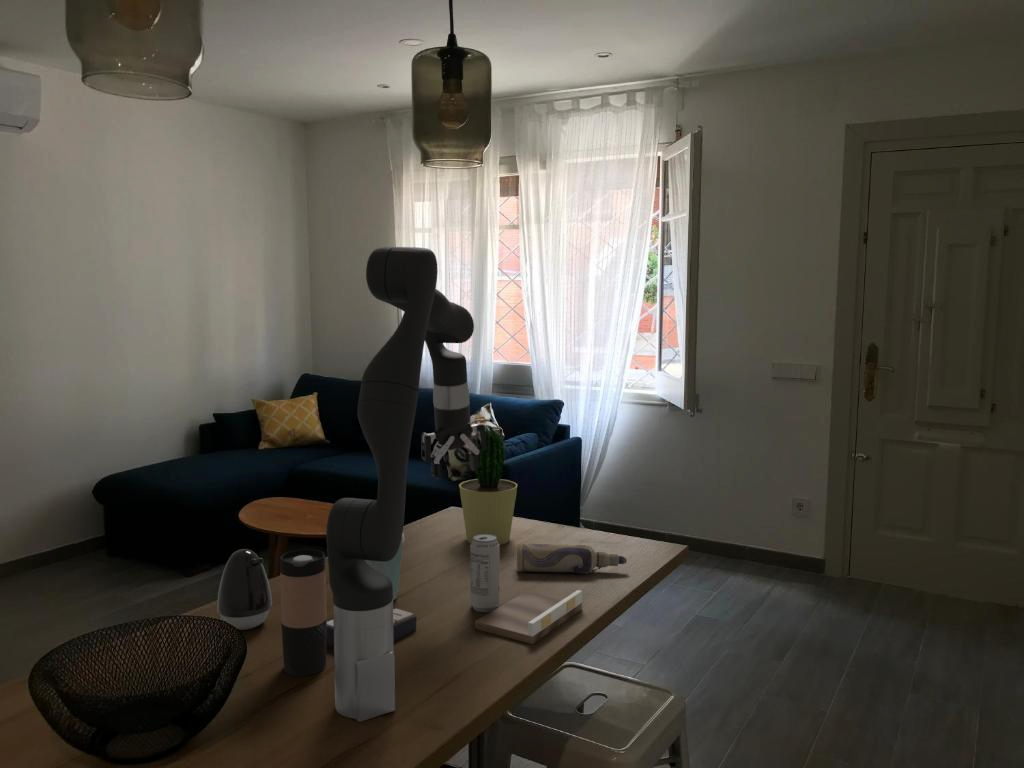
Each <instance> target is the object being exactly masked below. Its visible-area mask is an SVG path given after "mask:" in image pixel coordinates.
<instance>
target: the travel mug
mask: <svg viewBox="0 0 1024 768" xmlns="http://www.w3.org/2000/svg"><path fill="white" fill-rule="evenodd" d="M279 560H280V561H279V562H280V564H279V565H280V566H279V567H280V618H281V619H280V622H281V623H280V625H281V639H282V641H281V642H282V654H283V655H282V657H283V669H284V672H285V673H286V674H288V675H291V676H292V677H293V676H294V677H305V676H306V677H308V676H312V675H316V674H318V673H320V672H322V671H323V670H324V669H326V665H327V645H326V636H327V622H328V619H327V616H328V615H327V586H326V585H327V583H326V582H327V581H326V556H325V553H324V552H323V551H320V550H319V549H312V548H311V549H309V548H304V549H296V550H290V551H288V552H285V553H283V554H282V555H281V556H280V558H279Z"/></svg>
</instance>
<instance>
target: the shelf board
mask: <svg viewBox="0 0 1024 768" xmlns="http://www.w3.org/2000/svg"><path fill="white" fill-rule="evenodd" d="M565 598H566V597H565ZM565 598H564V597H560V596H557V595H556V596H555V595H552V594H551V595H550V594H546V593H542V592H538V591H533V590H530V589H528V590H526V591H524V592H523V593H520V594H519V595H517V596H516V597H514V598H513V599H511V600H509V601H507V602H505V603H504V604H502V605H501V606H499V607H497V608H496V609H495V610H494V611H490V612H488V613H487V614H485V615H484V616H482V617H480V618H479V619H476V620H475V621H474V626H475V628H474V629H475V630H477V631H482V632H485V633H490V634H493V635H497V636H500V637H504V638H509V639H512V640H516V641H519V642H522V641H523V642H522V643H526V642H527V644H529V645H530V644H531V645H534V644H535V643H536V641H537V642H538V641H539V640H541V639H542V638H544V637H545V636H546V635H548V634H549V633H551V632H552V631H554V630H555V629H556V628H558V627H559V626H561V625H562V624H564V623H565V622H566V621H568V620H569V619H571V618H572V617H573V616H575V615H576V614H577V612H578V611H579V612H580V611H582V610H583V602H582V603H581V604H579V605H578V606H576V607H575V608H573V609H572V610H570V611H569V612H568V613H566V614H565V615H563V616H562V617H560V618H559V619H557V620H556V621H555V622H553V623H552V624H550V625H549V626H547V627H546V628H544V629H543V630H541V631H540V632H539V633H537V634H536V635H534V636H533V637H532V636H529V635H528V622H530V621H531V620H533V619H534V618H536V617H537V616H539V615H540V614H542V613H543V612H545V611H546V610H548V609H550V608H551V607H553V606H554V605H556V604H557V603H559V602H560V601H562V600H563V599H565ZM581 609H582V610H581ZM579 612H578V613H579ZM574 614H575V615H574ZM571 616H572V617H571ZM570 617H571V618H570ZM567 619H568V620H567ZM564 621H565V622H564ZM561 623H562V624H561ZM560 624H561V625H560ZM557 626H558V627H557ZM553 629H554V630H553ZM550 631H551V632H550Z"/></svg>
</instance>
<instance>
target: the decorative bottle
mask: <svg viewBox="0 0 1024 768" xmlns="http://www.w3.org/2000/svg"><path fill="white" fill-rule="evenodd" d="M516 551H517V553H516V570H517V572H521V573H522V572H535V573H536V572H537V573H570V572H571V573H573V574H575V573H576V574H582V575H585V574H584V573H590V574H591V573H593V572H596V571H597V570H600V569H602V568H607V567H618V566H619V565H625V564H627V562H628V561H627V558H626V557H625V556H624V555H619V554H618V553H608V552H605V551H597V552H596V551H595V550H594V548H593V547H592V546H591V545H582V544H581V545H580V544H578V545H577V544H576V545H575V544H574V545H573V544H572V545H571V544H549V543H548V544H547V543H546V544H544V543H542V544H541V543H522V542H519V543H518V544H517V550H516Z"/></svg>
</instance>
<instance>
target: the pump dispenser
mask: <svg viewBox="0 0 1024 768" xmlns="http://www.w3.org/2000/svg"><path fill="white" fill-rule="evenodd" d="M264 561H265V560H264V557H259V556H258V555H257V553H255V552H254V551H253V550H251V549H247V548H242V549H238V550H236V551H234V552H232V554H231V555H230V556H229V559H228V560H227V562H226V564H225V566H224V569H223V573H222V575H221V579H220V583H219V586H218V587H219V588H218V593H217V601H216V602H217V603H216V604H217V606H216V608H217V610H216V611H217V613H218V614H219V617H220V618H221V621H222V620H224V621H226V622H227V623H229V624H231V625H233V626H234V627H236V628H237V629H239V630H238V631H245V630H251V629H254V628H256V627H259V626H260V625H262V624H263V623H264V622H265V621H266V620H267V618H268V616H269V614H270V611H271V610H270V609H271V607H272V606H273V599H272V598H273V597H272V591H271V586H270V582H269V579H268V576H267V573H266V570H265V567H264V565H263V563H264ZM237 629H236V630H237Z"/></svg>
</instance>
